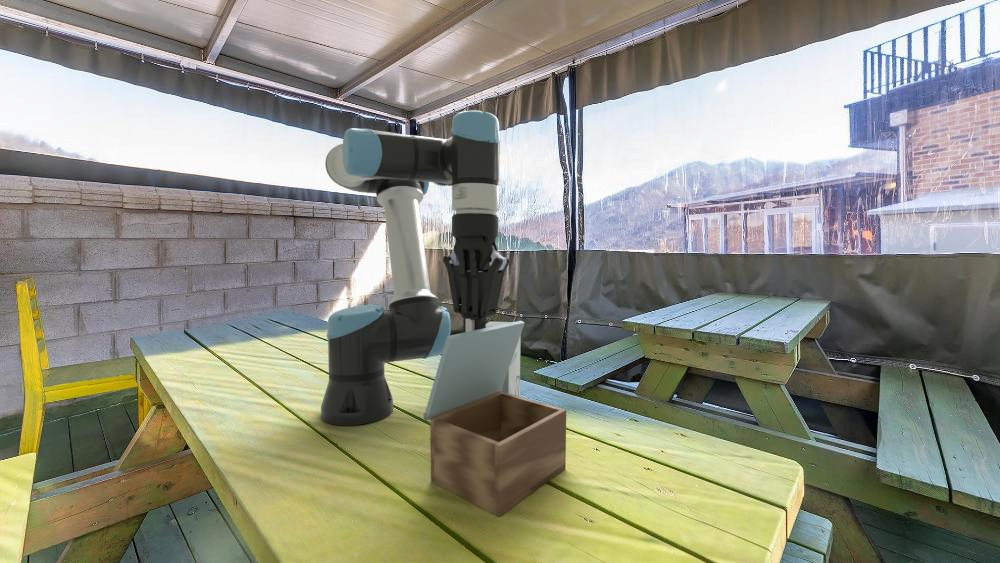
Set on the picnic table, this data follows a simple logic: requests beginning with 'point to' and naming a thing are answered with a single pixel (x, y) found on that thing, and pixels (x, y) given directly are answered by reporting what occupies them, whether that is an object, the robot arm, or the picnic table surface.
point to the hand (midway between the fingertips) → (474, 357)
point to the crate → (498, 450)
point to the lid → (472, 367)
